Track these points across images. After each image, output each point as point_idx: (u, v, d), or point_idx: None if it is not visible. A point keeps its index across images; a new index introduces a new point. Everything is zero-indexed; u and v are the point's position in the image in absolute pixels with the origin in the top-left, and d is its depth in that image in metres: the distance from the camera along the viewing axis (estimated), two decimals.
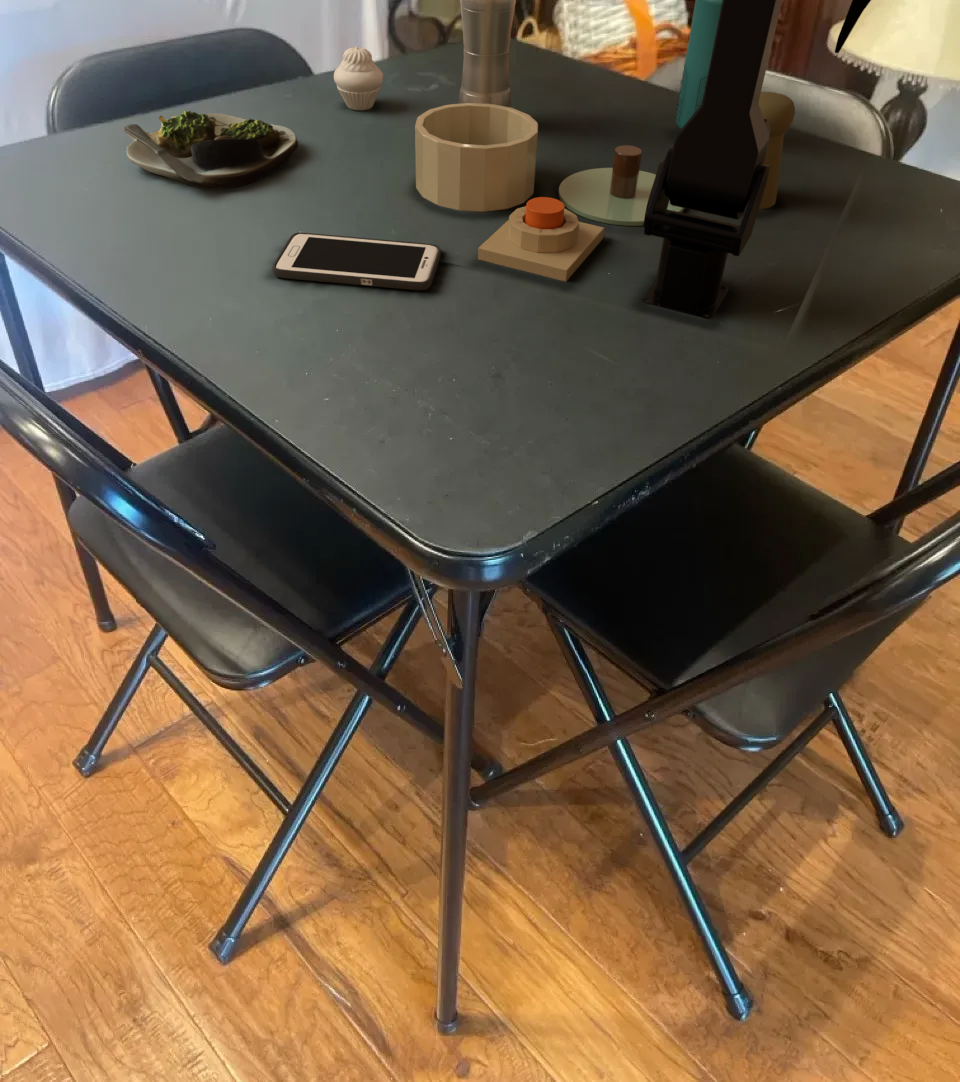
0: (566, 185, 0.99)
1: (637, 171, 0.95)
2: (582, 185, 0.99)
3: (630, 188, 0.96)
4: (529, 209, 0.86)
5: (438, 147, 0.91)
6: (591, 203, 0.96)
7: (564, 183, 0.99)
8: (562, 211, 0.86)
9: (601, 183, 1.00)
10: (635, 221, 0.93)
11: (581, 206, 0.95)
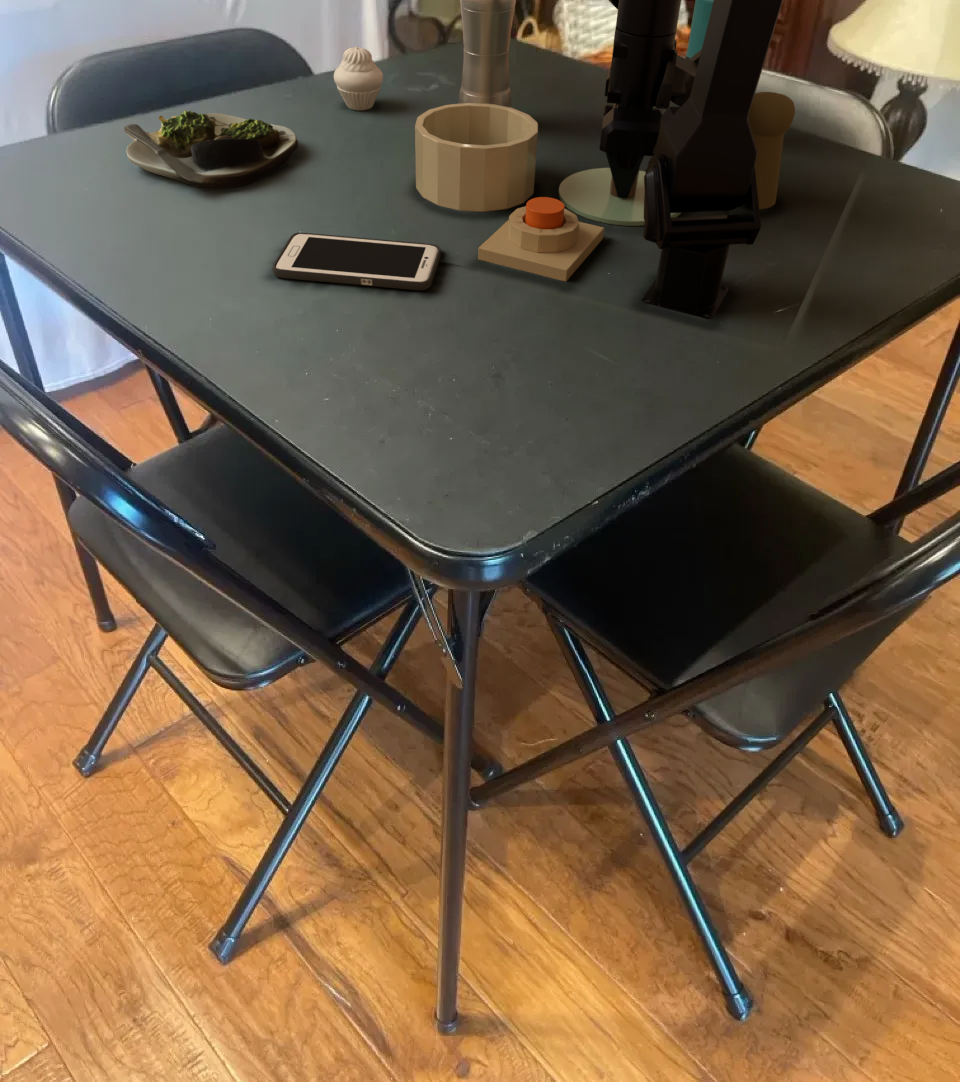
0: (566, 185, 0.99)
1: None
2: (582, 185, 0.99)
3: None
4: (529, 209, 0.86)
5: (438, 147, 0.91)
6: (591, 203, 0.96)
7: (564, 183, 0.99)
8: (562, 211, 0.86)
9: (601, 183, 1.00)
10: (635, 221, 0.93)
11: (581, 206, 0.95)
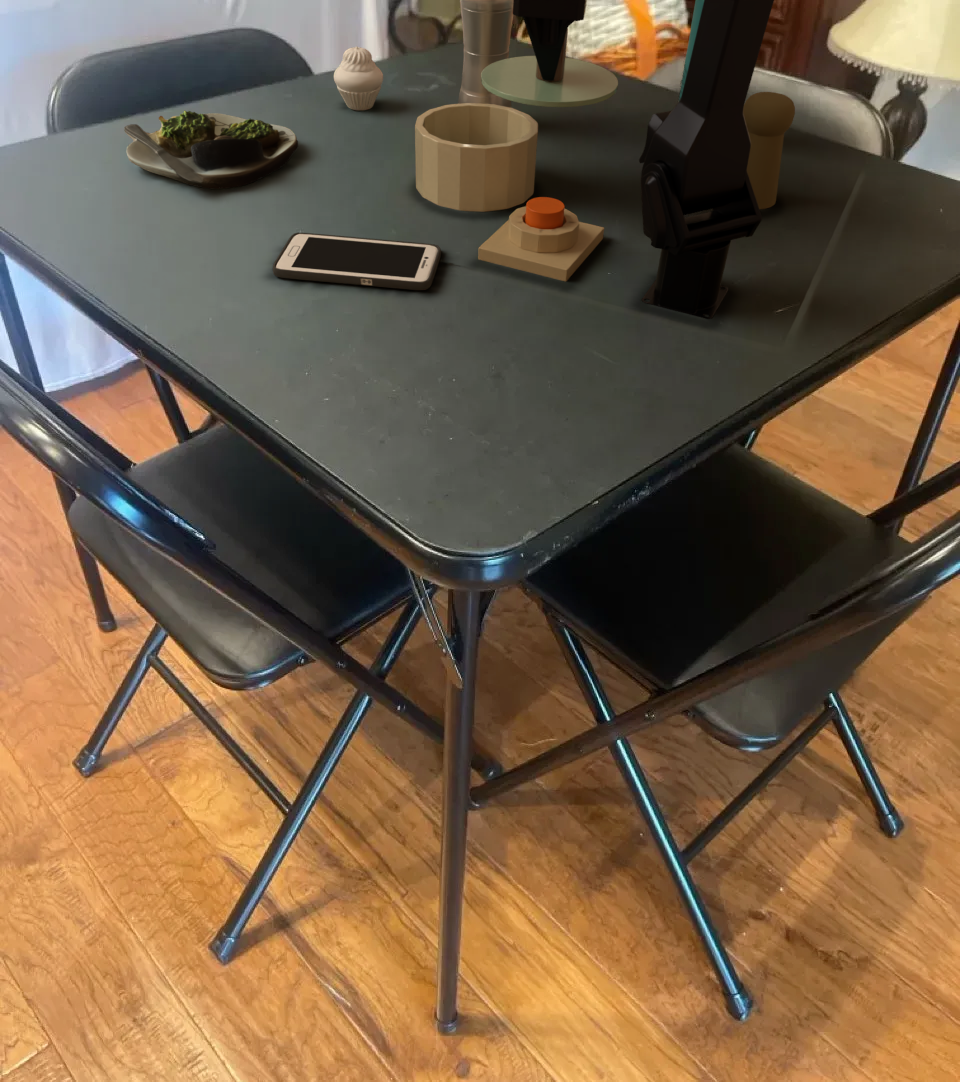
0: (490, 69, 0.92)
1: (563, 51, 0.89)
2: (507, 69, 0.92)
3: (556, 71, 0.89)
4: (529, 209, 0.86)
5: (438, 147, 0.91)
6: (513, 85, 0.89)
7: (489, 68, 0.92)
8: (562, 211, 0.86)
9: (528, 68, 0.93)
10: (558, 102, 0.86)
11: (502, 88, 0.88)
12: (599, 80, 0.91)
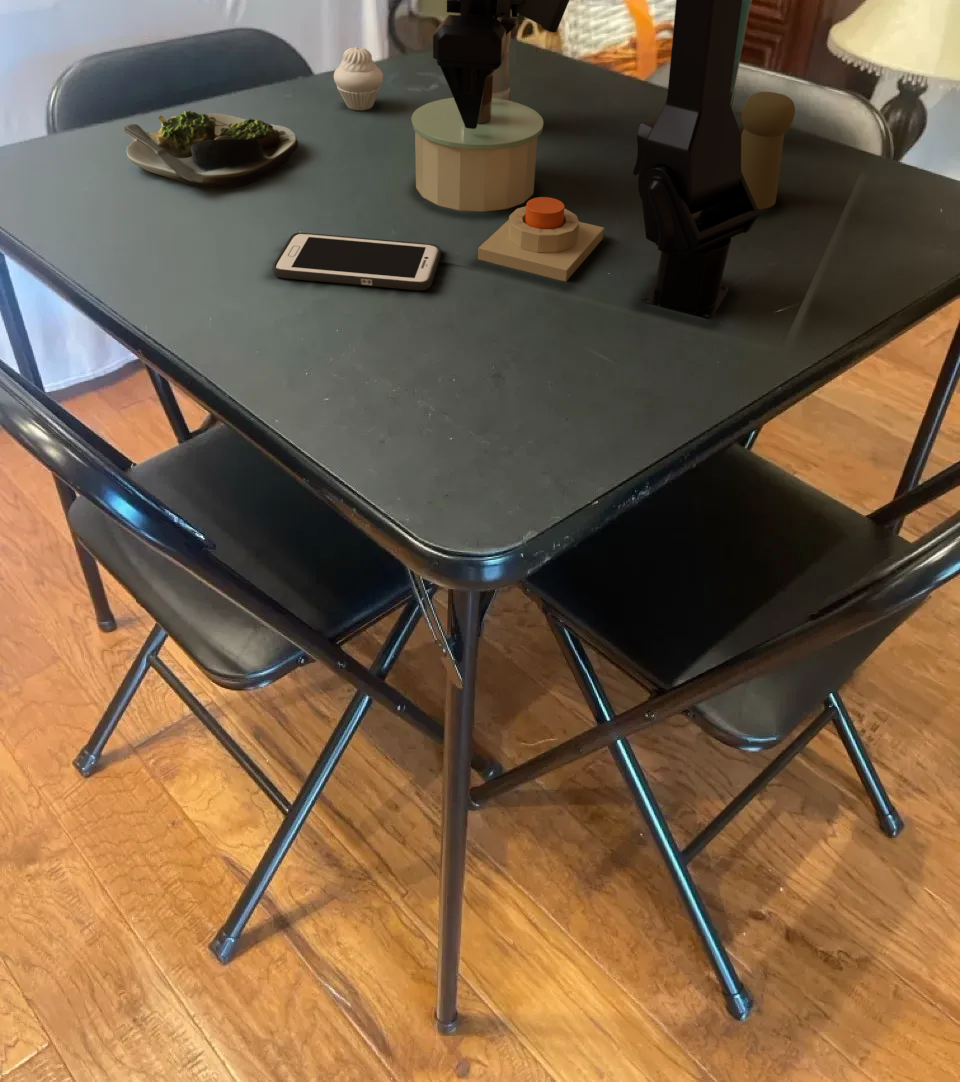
0: (421, 112, 0.95)
1: (489, 94, 0.92)
2: (437, 111, 0.96)
3: (483, 113, 0.93)
4: (529, 209, 0.86)
5: (438, 147, 0.91)
6: (442, 128, 0.92)
7: (419, 110, 0.96)
8: (562, 211, 0.86)
9: (458, 110, 0.96)
10: (483, 144, 0.90)
11: (430, 130, 0.92)
12: (525, 121, 0.94)
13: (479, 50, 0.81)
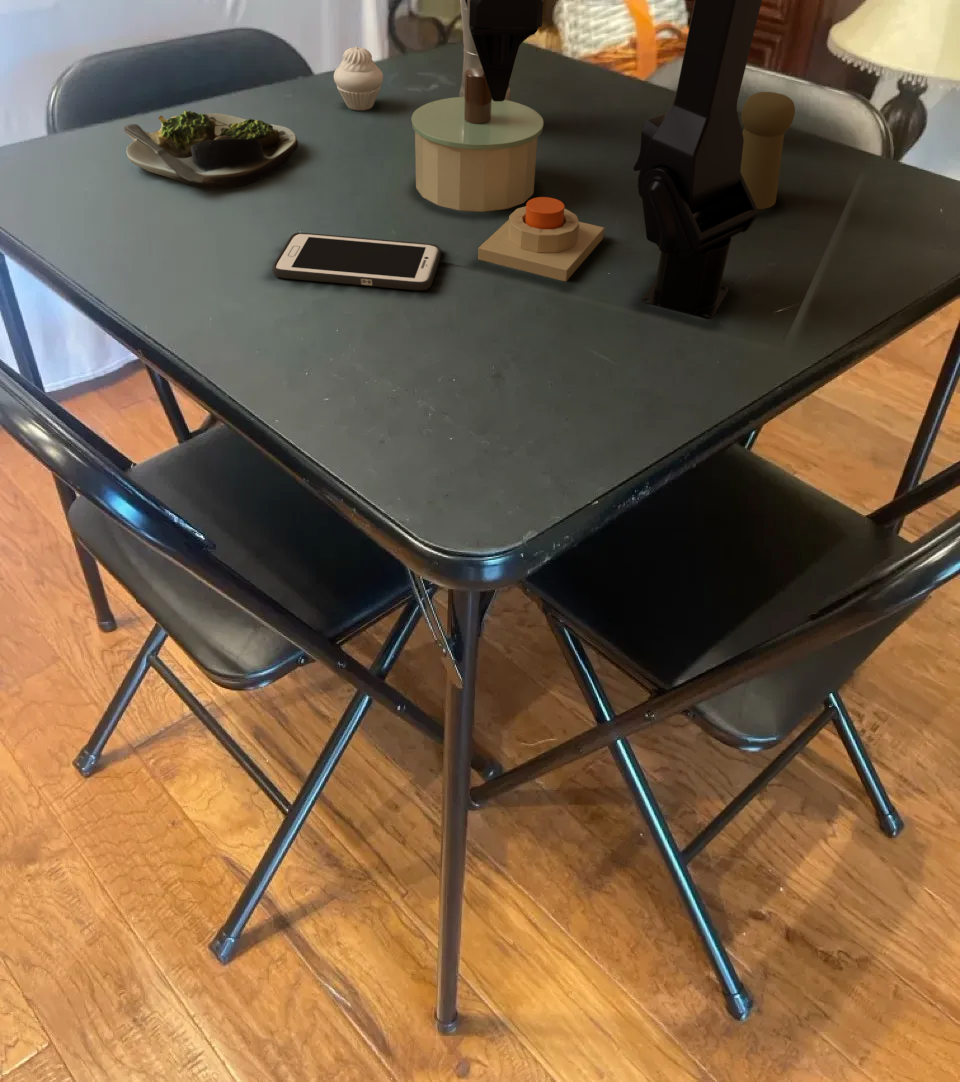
0: (421, 112, 0.95)
1: (489, 94, 0.92)
2: (437, 111, 0.96)
3: (483, 113, 0.93)
4: (529, 209, 0.86)
5: (438, 147, 0.91)
6: (442, 128, 0.92)
7: (419, 110, 0.96)
8: (562, 211, 0.86)
9: (458, 110, 0.96)
10: (483, 144, 0.90)
11: (430, 131, 0.92)
12: (525, 121, 0.94)
13: (520, 14, 0.77)
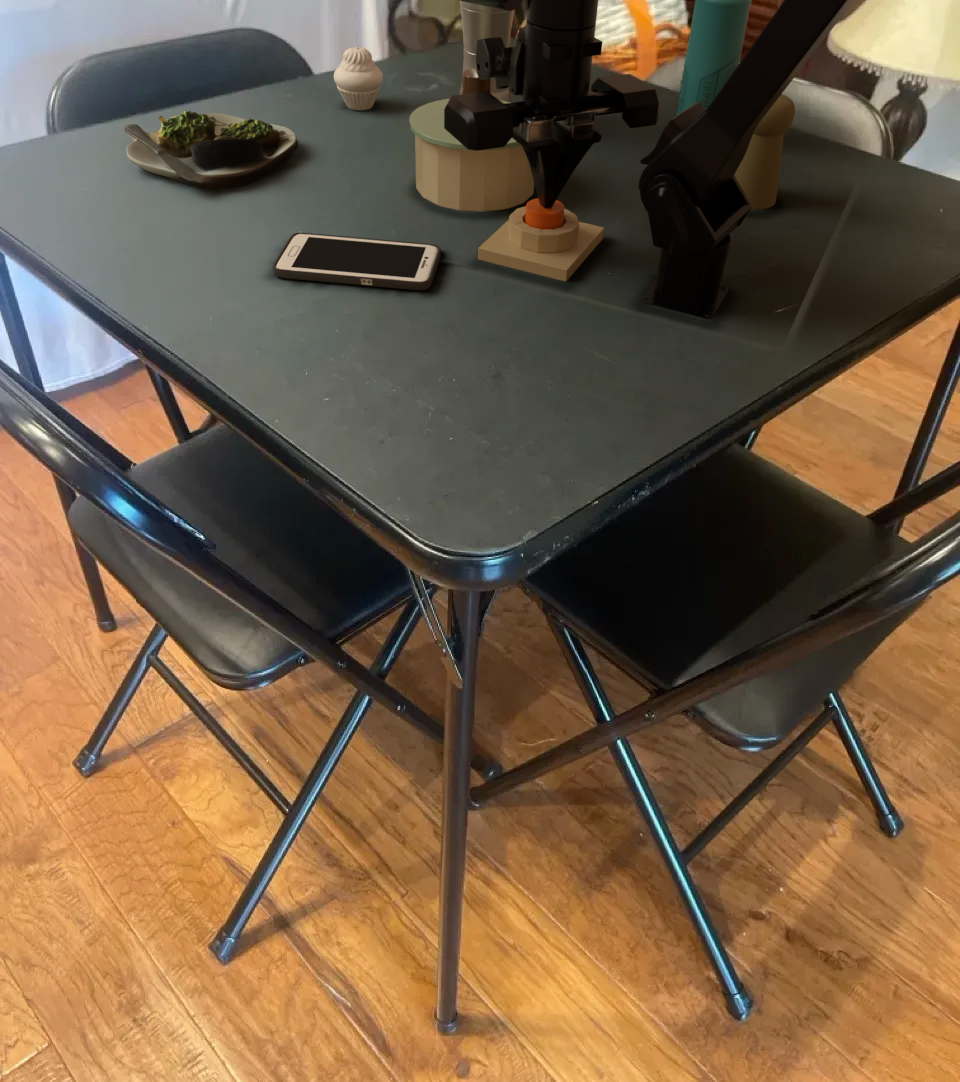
0: (418, 113, 0.95)
1: None
2: (434, 113, 0.95)
3: None
4: (529, 210, 0.86)
5: (438, 147, 0.91)
6: (440, 129, 0.92)
7: (417, 111, 0.95)
8: (562, 212, 0.86)
9: None
10: None
11: (429, 132, 0.91)
12: None
13: None
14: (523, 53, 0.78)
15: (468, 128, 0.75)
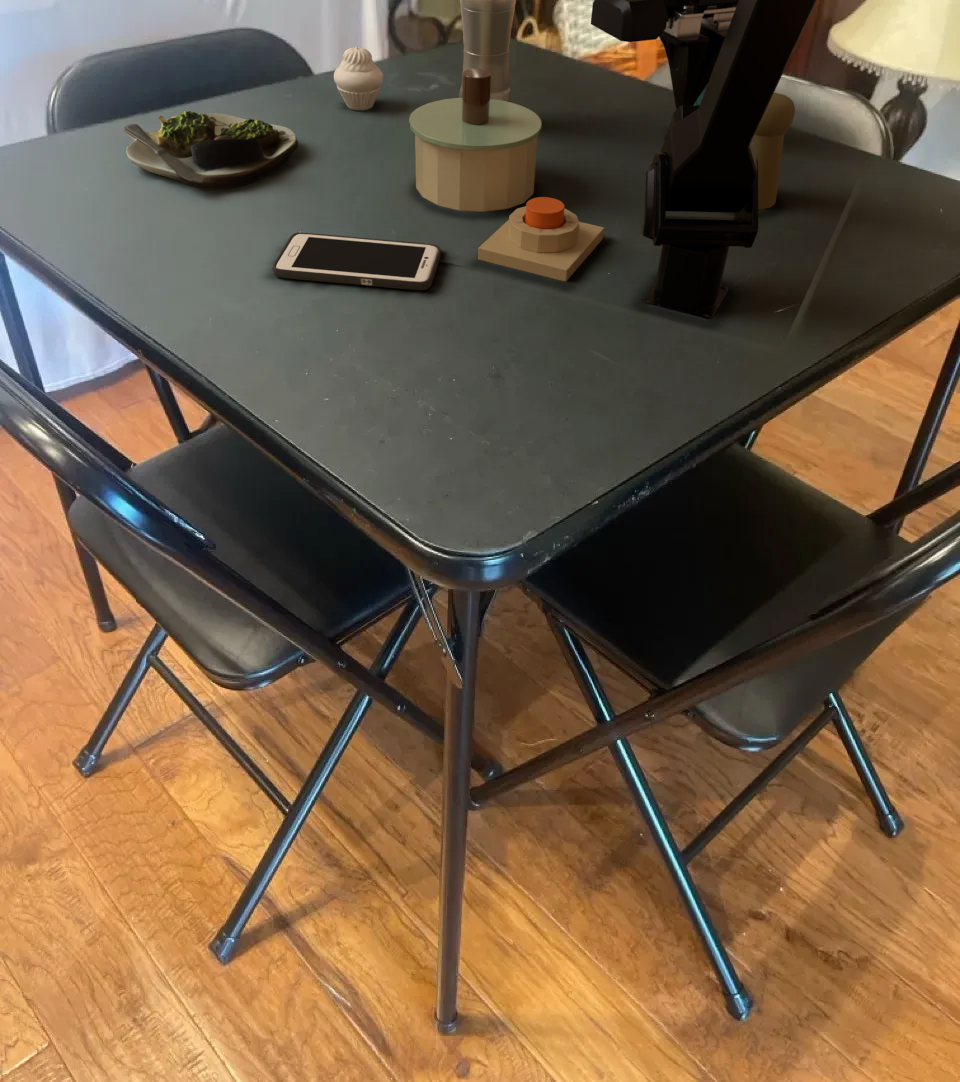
0: (418, 113, 0.95)
1: (487, 95, 0.92)
2: (434, 113, 0.95)
3: (481, 114, 0.93)
4: (529, 209, 0.86)
5: (438, 147, 0.91)
6: (440, 129, 0.92)
7: (417, 111, 0.95)
8: (562, 211, 0.86)
9: (455, 111, 0.96)
10: (483, 145, 0.90)
11: (429, 132, 0.91)
12: (523, 122, 0.94)
13: None
14: None
15: (623, 18, 0.74)
